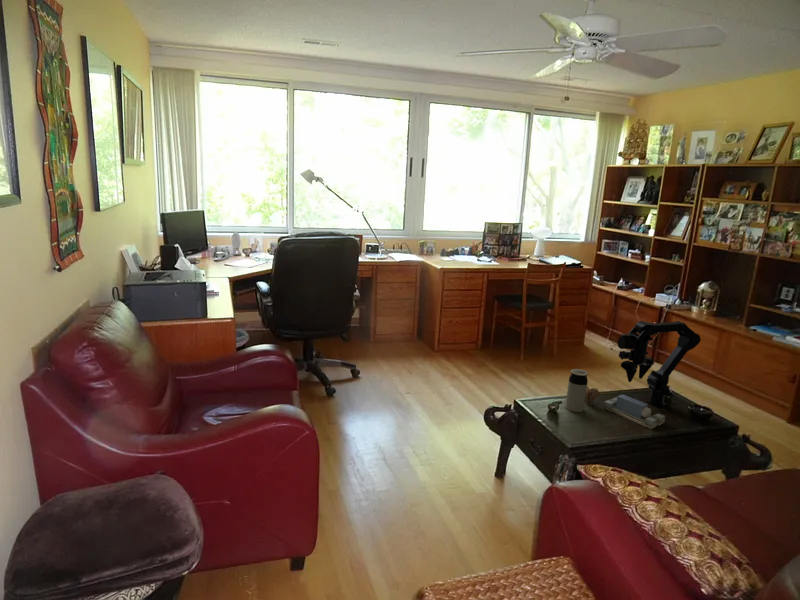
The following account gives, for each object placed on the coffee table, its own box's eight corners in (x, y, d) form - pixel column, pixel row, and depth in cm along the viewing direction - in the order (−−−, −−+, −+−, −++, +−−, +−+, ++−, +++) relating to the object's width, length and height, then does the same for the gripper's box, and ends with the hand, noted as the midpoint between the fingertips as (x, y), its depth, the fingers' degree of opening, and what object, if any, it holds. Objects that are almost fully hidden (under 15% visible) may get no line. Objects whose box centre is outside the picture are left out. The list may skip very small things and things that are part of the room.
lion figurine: (600, 408, 235) (603, 390, 233) (590, 408, 234) (593, 390, 232) (583, 395, 249) (586, 378, 247) (573, 395, 248) (576, 378, 246)
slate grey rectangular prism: (620, 406, 235) (622, 394, 234) (649, 418, 224) (652, 405, 223) (615, 408, 233) (617, 396, 231) (644, 420, 222) (646, 407, 220)
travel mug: (584, 413, 228) (590, 376, 224) (566, 411, 229) (571, 373, 225) (582, 406, 235) (587, 369, 231) (564, 404, 237) (569, 367, 233)
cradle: (616, 403, 241) (617, 396, 240) (664, 423, 222) (665, 416, 222) (602, 408, 234) (603, 401, 234) (650, 429, 216) (652, 421, 215)
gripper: (634, 341, 247) (630, 371, 251) (612, 346, 237) (608, 377, 240) (657, 348, 238) (651, 379, 242) (635, 353, 228) (629, 386, 231)
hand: (634, 380), depth 239 cm, fingers open, 9 cm apart
